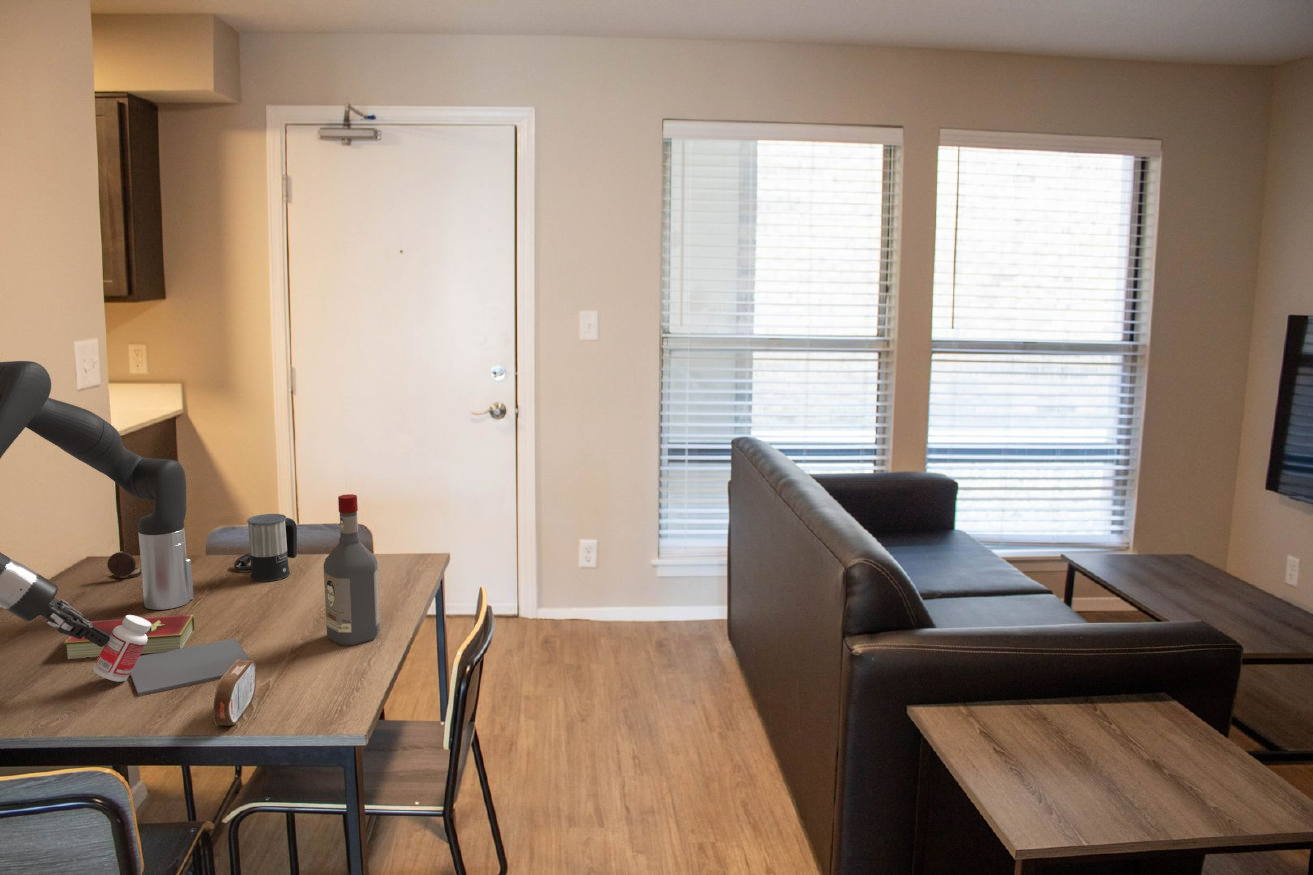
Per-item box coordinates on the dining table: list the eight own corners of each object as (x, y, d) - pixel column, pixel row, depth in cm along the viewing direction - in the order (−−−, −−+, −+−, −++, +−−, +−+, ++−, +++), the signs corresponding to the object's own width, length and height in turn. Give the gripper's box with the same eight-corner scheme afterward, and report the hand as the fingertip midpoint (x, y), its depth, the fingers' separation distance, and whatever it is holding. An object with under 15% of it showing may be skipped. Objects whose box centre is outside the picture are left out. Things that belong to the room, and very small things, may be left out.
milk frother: (280, 583, 238) (277, 523, 235) (216, 581, 238) (212, 522, 236) (303, 565, 252) (300, 508, 249) (242, 563, 252) (239, 507, 250)
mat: (138, 695, 176) (138, 692, 176) (125, 661, 191) (125, 658, 190) (256, 671, 187) (255, 668, 187) (235, 640, 202) (235, 637, 202)
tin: (242, 695, 177) (239, 651, 175) (260, 694, 177) (258, 650, 176) (212, 735, 162) (209, 687, 161) (232, 734, 162) (229, 686, 161)
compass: (145, 570, 246) (142, 542, 244) (135, 580, 238) (133, 551, 237) (109, 572, 244) (107, 544, 243) (99, 582, 236) (96, 553, 235)
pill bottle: (128, 675, 185) (157, 622, 186) (124, 686, 179) (153, 630, 180) (94, 663, 183) (124, 609, 184) (89, 673, 177) (119, 617, 178)
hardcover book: (85, 639, 203) (83, 619, 202) (195, 631, 208) (193, 612, 207) (65, 662, 191) (63, 641, 191) (182, 653, 196) (180, 633, 195)
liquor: (363, 625, 211) (357, 489, 206) (384, 637, 205) (379, 496, 199) (322, 636, 205) (315, 495, 199) (343, 648, 198) (337, 504, 193)
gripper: (37, 582, 166) (125, 636, 175) (33, 562, 177) (116, 614, 186) (3, 618, 164) (94, 671, 173) (1, 596, 175) (87, 646, 184)
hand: (105, 641), depth 180 cm, fingers closed
